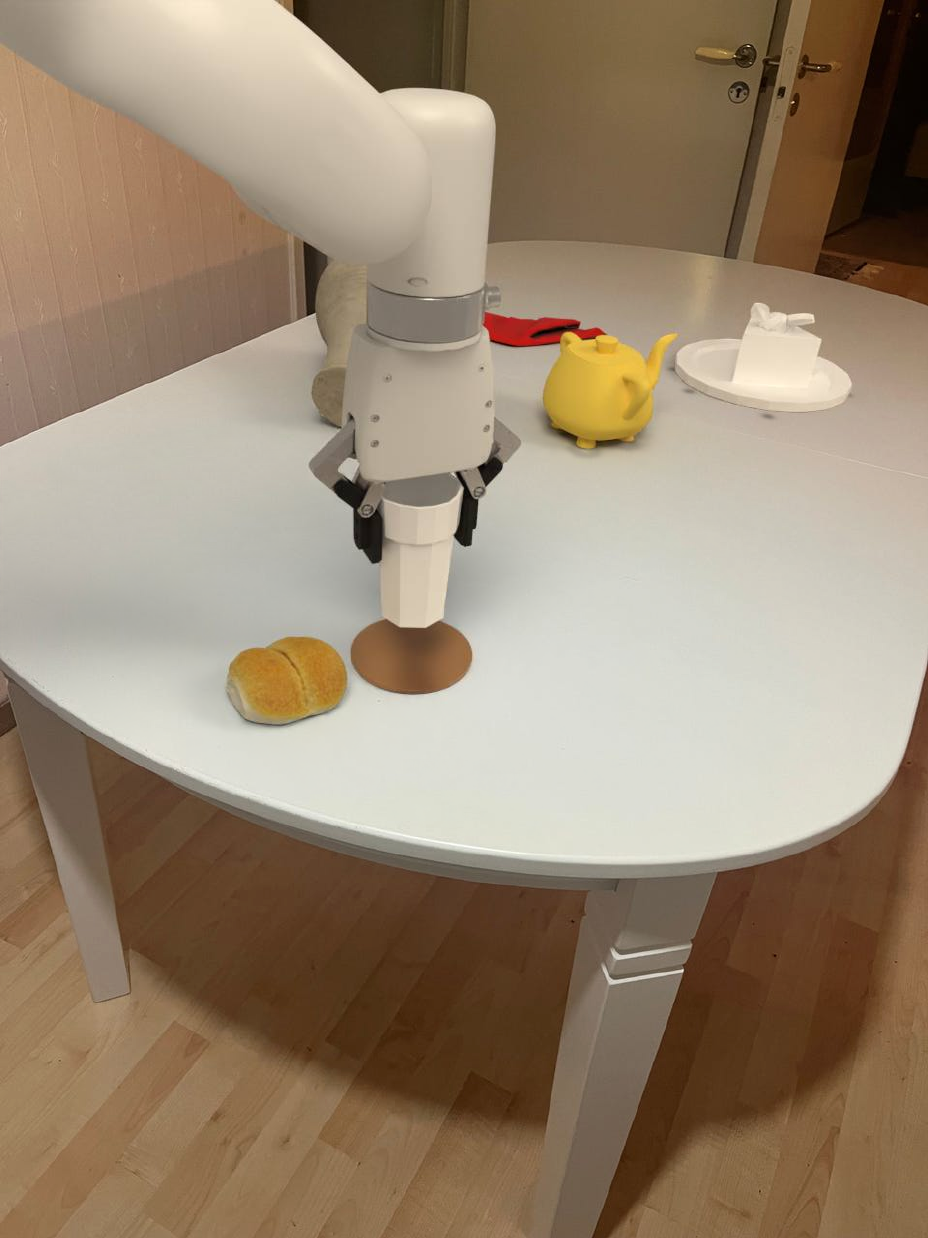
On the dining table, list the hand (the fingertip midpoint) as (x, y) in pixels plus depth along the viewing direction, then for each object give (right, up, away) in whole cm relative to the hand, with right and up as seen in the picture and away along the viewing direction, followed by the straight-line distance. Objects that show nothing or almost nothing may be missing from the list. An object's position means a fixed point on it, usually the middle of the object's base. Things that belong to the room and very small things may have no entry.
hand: (415, 544), depth 70 cm
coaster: (-1, -9, +6) cm, 11 cm away
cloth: (+12, +39, +73) cm, 84 cm away
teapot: (+21, +18, +46) cm, 54 cm away
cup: (0, -5, +4) cm, 6 cm away
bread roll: (-10, -12, +2) cm, 15 cm away
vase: (-9, +22, +48) cm, 54 cm away
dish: (+47, +29, +64) cm, 85 cm away
